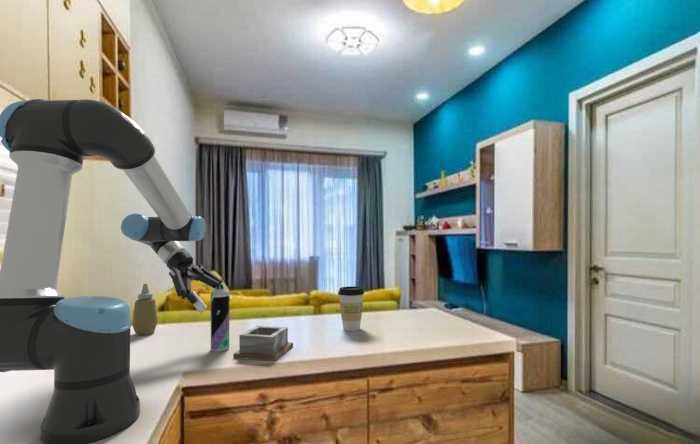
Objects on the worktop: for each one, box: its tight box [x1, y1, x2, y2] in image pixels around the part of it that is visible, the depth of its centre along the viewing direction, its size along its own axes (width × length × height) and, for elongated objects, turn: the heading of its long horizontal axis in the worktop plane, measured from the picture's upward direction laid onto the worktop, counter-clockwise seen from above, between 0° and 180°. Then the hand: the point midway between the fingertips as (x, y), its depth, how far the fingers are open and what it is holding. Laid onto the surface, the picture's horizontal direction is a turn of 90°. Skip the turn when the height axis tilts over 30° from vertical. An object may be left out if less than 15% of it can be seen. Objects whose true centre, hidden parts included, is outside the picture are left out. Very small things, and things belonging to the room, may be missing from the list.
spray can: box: [210, 283, 230, 353], centre depth 111 cm, size 6×6×20 cm
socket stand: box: [232, 325, 294, 362], centre depth 107 cm, size 13×13×6 cm
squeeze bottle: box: [131, 283, 158, 336], centre depth 130 cm, size 8×8×18 cm
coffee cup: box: [337, 285, 365, 332], centre depth 132 cm, size 10×10×15 cm
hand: (217, 305), depth 112 cm, fingers open, 13 cm apart
